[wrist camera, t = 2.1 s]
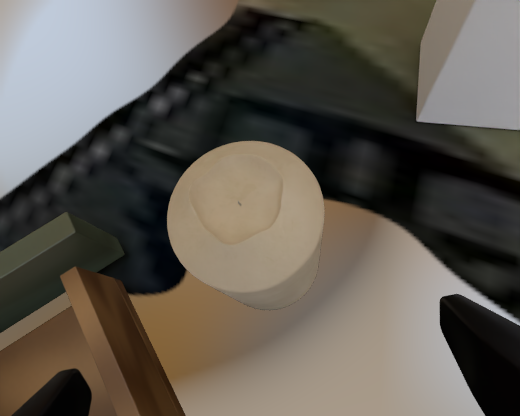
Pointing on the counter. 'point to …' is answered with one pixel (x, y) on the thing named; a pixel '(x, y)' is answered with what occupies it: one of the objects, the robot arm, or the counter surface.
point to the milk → (471, 64)
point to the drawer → (77, 324)
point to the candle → (249, 223)
